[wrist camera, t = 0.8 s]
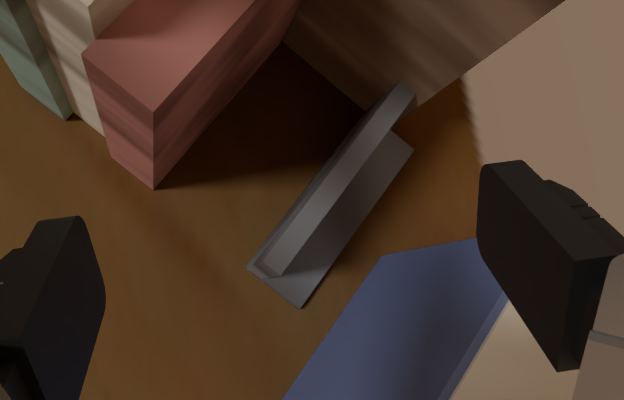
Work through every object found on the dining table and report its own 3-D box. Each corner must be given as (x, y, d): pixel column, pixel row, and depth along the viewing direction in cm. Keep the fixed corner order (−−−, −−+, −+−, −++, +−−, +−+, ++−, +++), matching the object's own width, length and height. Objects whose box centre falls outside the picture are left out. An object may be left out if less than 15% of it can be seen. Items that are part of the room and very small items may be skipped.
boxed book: (333, 462, 30) (482, 596, 16) (271, 414, 29) (371, 513, 16) (437, 300, 33) (636, 301, 19) (381, 255, 32) (546, 224, 19)
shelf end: (298, 309, 31) (443, 319, 15) (1, 76, 29) (-172, -177, 13) (423, 135, 34) (642, 2, 19) (165, -83, 32) (177, -428, 17)
